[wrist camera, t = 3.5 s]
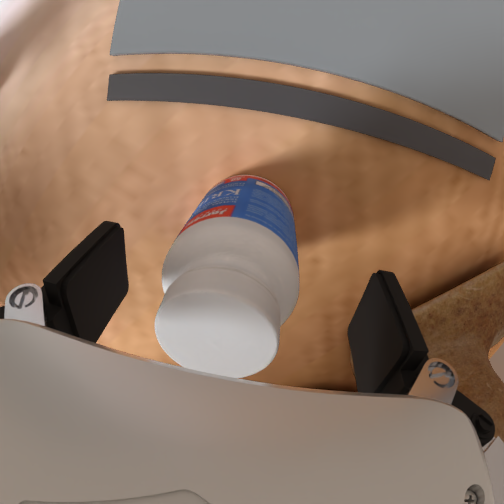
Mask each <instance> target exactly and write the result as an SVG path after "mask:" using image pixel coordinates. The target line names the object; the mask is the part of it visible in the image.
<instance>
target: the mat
mask: <svg viewBox="0 0 504 504" xmlns="http://www.w3.org/2000/svg"><path fill="white" fill-rule="evenodd" d="M134 54H202V55H218V56H230V57H239V58H248V59H256V60H263V61H270V62H276V63H282V64H288V65H293V66H298V67H303V68H308V69H313V70H317V71H322V72H326V73H330V74H334V75H338V76H342V77H345V78H349V79H352V80H356V81H359V82H363V83H366V84H369V85H372V86H375V87H379V88H382V89H385V90H387V91H390V92H393V93H396V94H399V95H401V96H404V97H407V98H409V99H412V100H414V101H417V102H419V103H422V104H424V105H427V106H429V107H431V108H434V109H436V110H438V111H441V112H443V113H445V114H447V115H449V116H451V117H454V118H456V119H458V120H460V121H462V122H464V123H466V124H468V125H470V126H472V127H473V128H475V129H477V130H479V131H481V132H483V133H485V134H486V135H488V136H490V137H492V138H494V139H495V140H497V141H500V142H503V138H504V0H120V2H119V7H118V11H117V16H116V21H115V26H114V31H113V37H112V43H111V49H110V55H113V56H118V55H134Z"/></svg>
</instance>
